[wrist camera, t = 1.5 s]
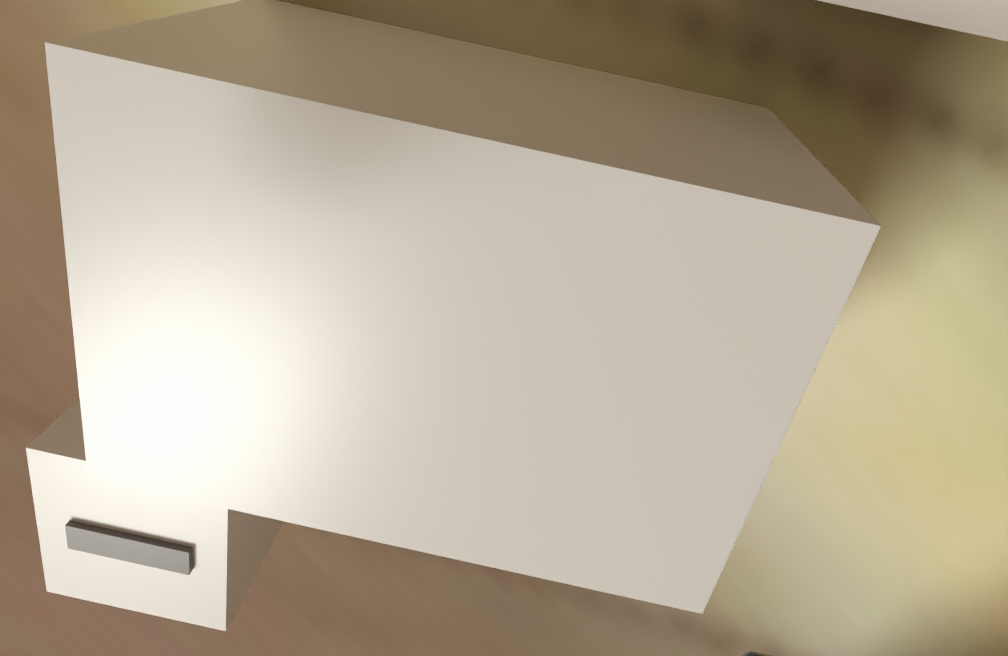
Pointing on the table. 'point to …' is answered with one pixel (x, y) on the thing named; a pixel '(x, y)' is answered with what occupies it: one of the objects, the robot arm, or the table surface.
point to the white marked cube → (943, 13)
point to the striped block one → (138, 538)
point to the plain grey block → (440, 290)
